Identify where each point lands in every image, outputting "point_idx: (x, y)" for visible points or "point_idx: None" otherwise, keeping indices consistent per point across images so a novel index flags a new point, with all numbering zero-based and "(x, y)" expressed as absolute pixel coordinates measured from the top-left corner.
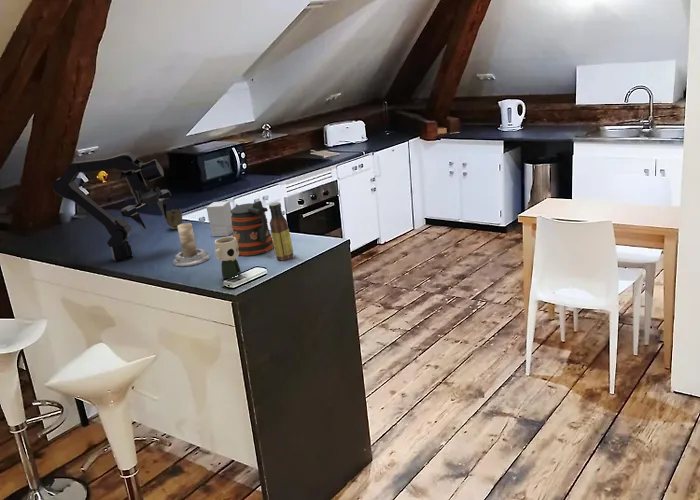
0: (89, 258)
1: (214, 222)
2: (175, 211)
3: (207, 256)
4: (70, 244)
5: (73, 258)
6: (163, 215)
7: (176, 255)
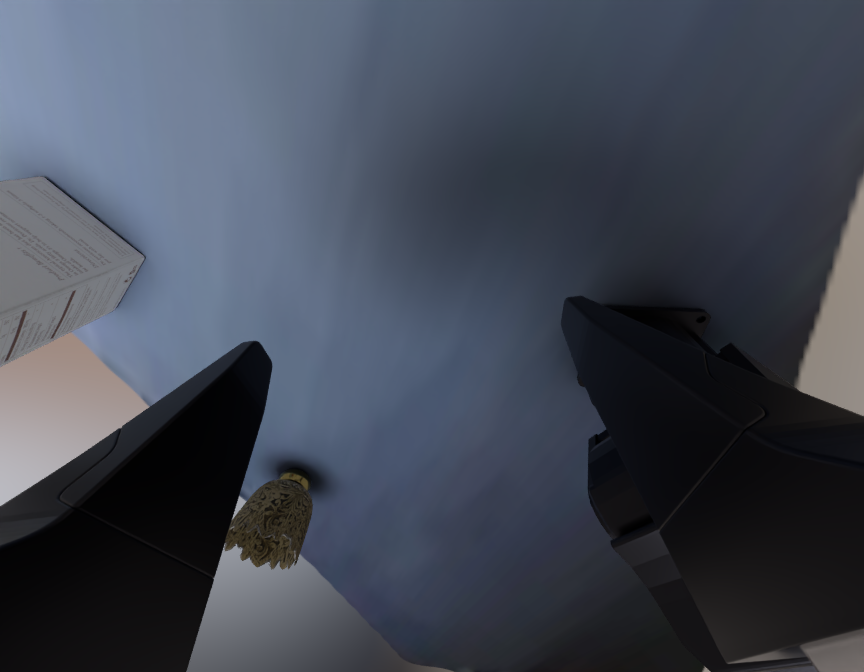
0: None
1: (15, 261)
2: (252, 550)
3: None
4: (606, 603)
5: None
6: (260, 398)
7: None
